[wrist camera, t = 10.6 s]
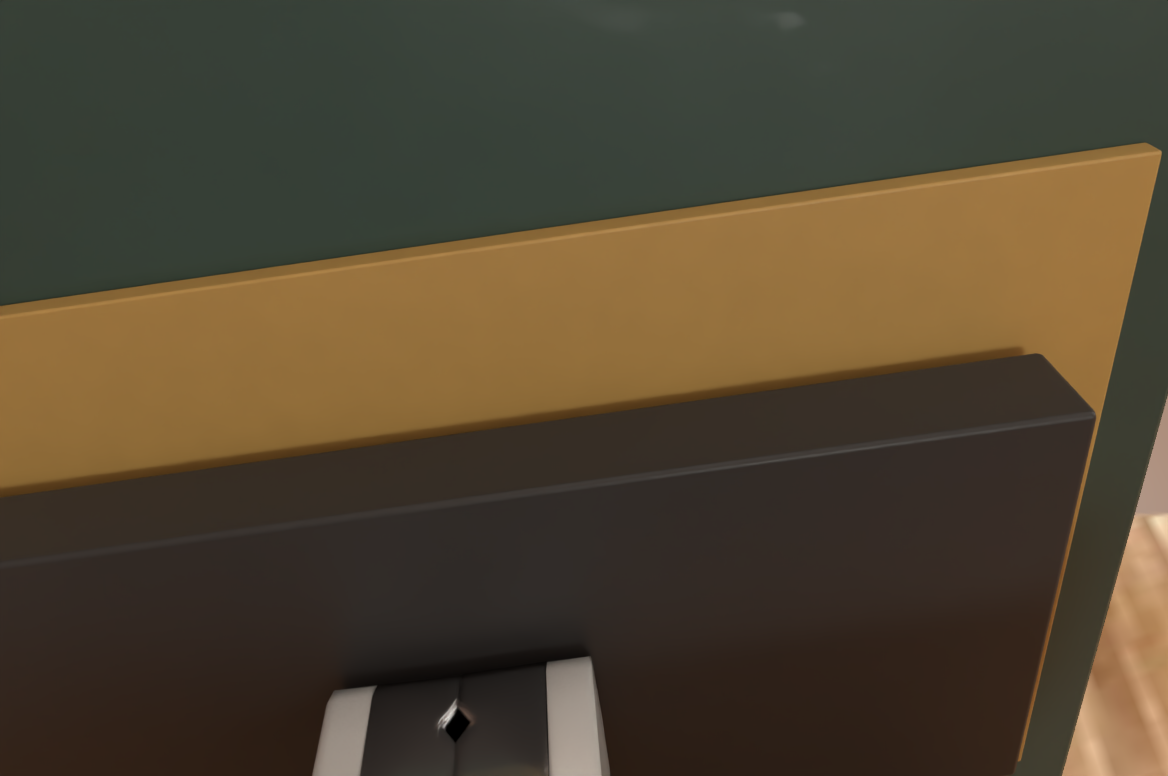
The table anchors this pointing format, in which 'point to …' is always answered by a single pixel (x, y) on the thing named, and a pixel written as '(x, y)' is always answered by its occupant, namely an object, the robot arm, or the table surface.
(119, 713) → the switch button
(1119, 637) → the table surface
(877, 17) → the switch stand
